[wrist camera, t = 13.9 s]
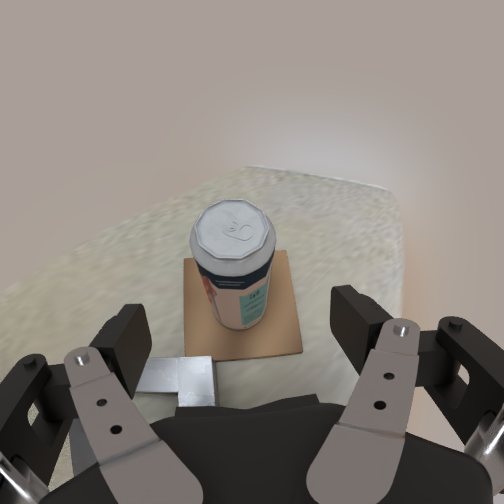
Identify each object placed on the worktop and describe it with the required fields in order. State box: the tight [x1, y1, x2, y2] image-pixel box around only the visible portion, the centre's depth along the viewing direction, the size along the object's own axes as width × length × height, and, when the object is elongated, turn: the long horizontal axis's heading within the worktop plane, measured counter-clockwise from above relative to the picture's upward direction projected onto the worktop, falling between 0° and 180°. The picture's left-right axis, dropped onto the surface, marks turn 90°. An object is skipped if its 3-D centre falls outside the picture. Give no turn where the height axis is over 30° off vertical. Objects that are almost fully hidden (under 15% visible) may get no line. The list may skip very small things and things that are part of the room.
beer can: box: [190, 199, 276, 330], centre depth 20 cm, size 5×5×12 cm
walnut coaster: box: [184, 250, 303, 362], centre depth 26 cm, size 10×10×1 cm
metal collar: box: [69, 356, 219, 477], centre depth 19 cm, size 13×13×3 cm
